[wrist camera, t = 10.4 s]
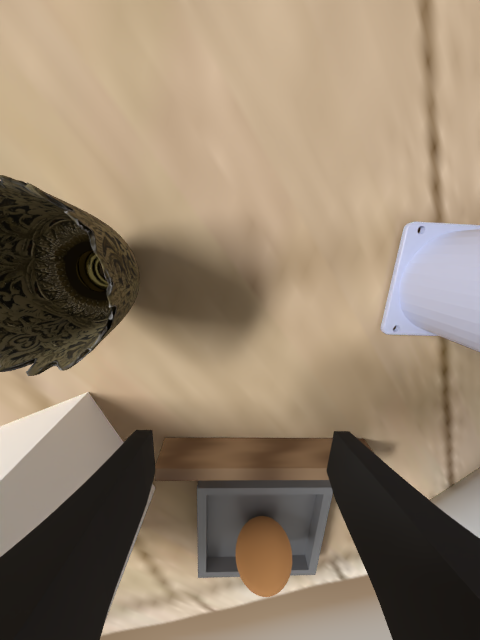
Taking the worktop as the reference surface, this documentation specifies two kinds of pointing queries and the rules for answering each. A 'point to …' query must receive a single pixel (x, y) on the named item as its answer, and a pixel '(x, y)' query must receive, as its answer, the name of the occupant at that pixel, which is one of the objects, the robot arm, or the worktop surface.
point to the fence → (243, 459)
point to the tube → (463, 502)
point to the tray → (260, 500)
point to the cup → (57, 280)
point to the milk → (51, 464)
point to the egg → (263, 556)
